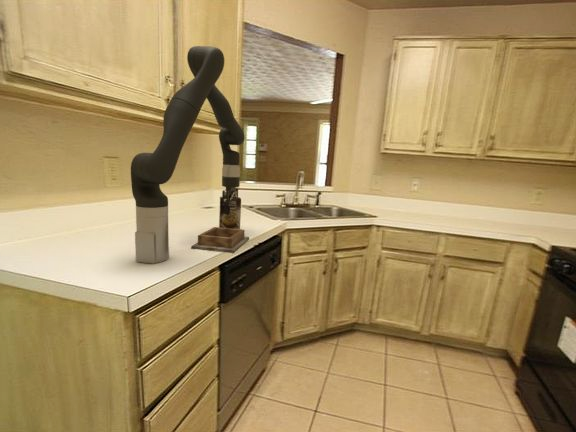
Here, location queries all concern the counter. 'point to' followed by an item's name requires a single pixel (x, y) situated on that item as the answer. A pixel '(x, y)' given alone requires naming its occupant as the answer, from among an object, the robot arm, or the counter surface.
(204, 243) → the socket
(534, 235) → the counter surface
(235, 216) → the coffee box
